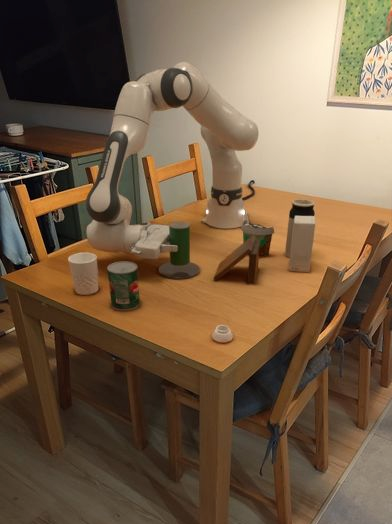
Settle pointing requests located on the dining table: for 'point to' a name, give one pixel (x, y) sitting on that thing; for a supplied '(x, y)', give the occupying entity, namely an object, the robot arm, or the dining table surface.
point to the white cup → (84, 272)
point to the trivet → (179, 271)
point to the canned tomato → (123, 285)
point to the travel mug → (298, 209)
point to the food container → (258, 236)
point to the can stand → (237, 255)
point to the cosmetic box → (302, 243)
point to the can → (180, 243)
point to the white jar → (222, 334)
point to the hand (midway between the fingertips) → (181, 243)
